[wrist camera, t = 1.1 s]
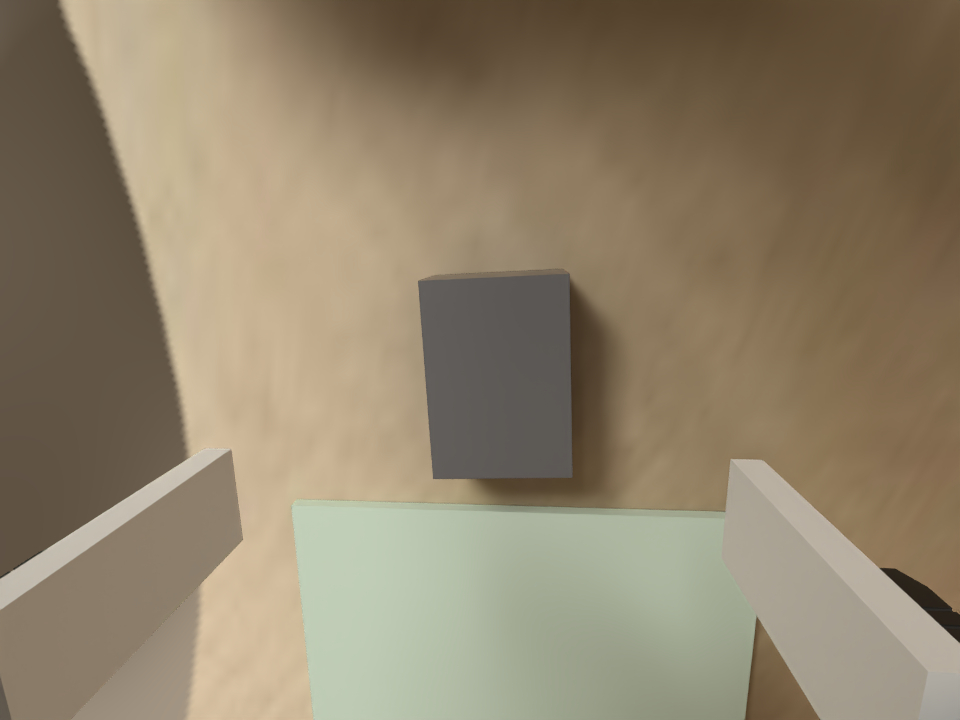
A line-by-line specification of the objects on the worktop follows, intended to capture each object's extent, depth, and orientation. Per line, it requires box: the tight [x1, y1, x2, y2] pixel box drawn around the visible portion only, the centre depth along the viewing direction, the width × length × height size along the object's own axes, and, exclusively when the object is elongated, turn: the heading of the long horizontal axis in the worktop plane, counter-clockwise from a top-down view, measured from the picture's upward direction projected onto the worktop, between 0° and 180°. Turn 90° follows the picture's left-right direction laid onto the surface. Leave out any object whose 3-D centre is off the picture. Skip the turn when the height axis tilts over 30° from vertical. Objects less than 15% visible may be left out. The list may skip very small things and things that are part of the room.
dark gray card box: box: [418, 269, 572, 479], centre depth 28 cm, size 10×7×5 cm
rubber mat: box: [291, 499, 757, 720], centre depth 33 cm, size 20×28×1 cm
